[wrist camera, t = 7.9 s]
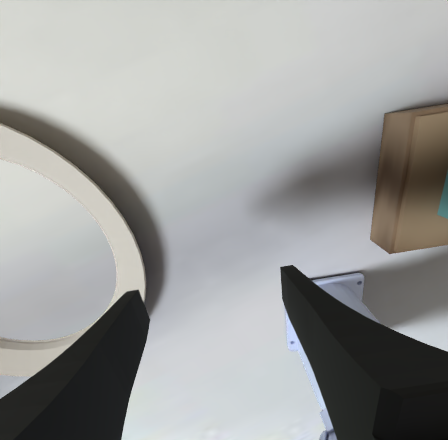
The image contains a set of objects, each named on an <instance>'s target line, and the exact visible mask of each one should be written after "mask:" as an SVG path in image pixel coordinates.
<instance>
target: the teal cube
mask: <svg viewBox="0 0 448 440" xmlns="http://www.w3.org/2000/svg"><path fill="white" fill-rule="evenodd" d="M437 215H439V216H442V217H444V218H447V219H448V171H447V175H446V179H445V184H444V188H443V192H442V196H441V200H440V205H439V209H438V213H437Z"/></svg>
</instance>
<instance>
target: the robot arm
mask: <svg viewBox="0 0 448 440" xmlns="http://www.w3.org/2000/svg"><path fill="white" fill-rule="evenodd" d="M280 268H281V284H282V299H283V302H284V305H285V309H286V326H287V344H288V349H289V351H298V352H299V355H300V357H301V360H302V362H303V365H304V368H305V370H306V373H307V375H308V378H309V381H310V383H311V386H312V388H313V391H314V393H315V396H316V399H317V401H318V403H319V405H320V407H321V409H322V411H321V412H320V415H321V418H322V420H323V423H324V426H325V428H326V430H325V431H323V433H322V434H321V435H320V439H319V440H448V352H447V351H444V350H441V349H438V348H436V347H433V346H430V345H427V344H425V343H422V342H420V341H417V340H415V339H413V338H410V337H408V336H405V335H403V334H401V333H399V332H396V331H394V330H392V329H390V328H388V327H386V326H384V325H382V324H381V323H380V322H379V321H378V320H377V319H376V317H375V316H374V315H373V314H372V313H371V311H370V310H369V309H368V308H367V307H366V306H365V304H364V303H363V302H362V297H363V288H364V279H365V277H364V275H363V274H362V273H354V274H348V275H342V276H335V277H329V278H323V279H316V280H310V279H309V278H308V277H306V276H305V275H304V274H303V273H302V272H300V271H299V270H298V269H297V268H296V267H294V266H293V265H290V266H284V267H280ZM358 281H359V282H358ZM357 282H358V283H357ZM149 322H150V319H149V316H148V313H147V311H146V308H145V305H144V302H143V300H142V297H141V294H140V292H139V290H132V291H127V292H126V293H124V294H123V295H122V296H121V297H120V298H119V299H118V300H117V301H116V302H115V303H114V304H113V305H112V306H111V307H110V308H109V309H108V311H107V312H106V313H105V314H104V315H103V316H102V317H101V318H100V319H99V320H98V321H97V322H96V323H95V324H94V325H92V326H91V327H90V328H89V329H88V330H87V331H86V332H85V333H84V334H83V335H82V336H81V337H80V338H79V339H78V340H76V341H75V342H74V343H73V344H72V345H71V346H70V347H69V348H67V349H66V350H65V351H64V352H63V353H62V354H60V355H59V356H58V357H57V358H55V359H54V360H53V361H52V362H51V363H49V364H48V365H47V366H45V367H44V368H43V369H41V370H40V371H39V372H37V373H36V374H35V375H33V376H32V377H31V378H29V379H28V380H27V381H25V382H24V383H23V384H21V385H20V386H18V387H17V388H16V389H14V390H13V391H11V392H10V393H8V394H7V395H5V396H4V397H2V398H1V399H0V440H121V437H122V432H123V426H124V421H125V417H126V412H127V407H128V402H129V398H130V394H131V390H132V387H133V384H134V380H135V377H136V374H137V370H138V367H139V364H140V361H141V357H142V354H143V351H144V347H145V344H146V340H147V335H148V329H149Z"/></svg>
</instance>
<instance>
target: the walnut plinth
mask: <svg viewBox="0 0 448 440" xmlns="http://www.w3.org/2000/svg"><path fill="white" fill-rule="evenodd" d="M447 171H448V103H447V104H441V105H435V106H429V107H423V108H416V109H410V110H404V111H398V112H392V113H386V114H385V115H384V124H383V132H382V141H381V150H380V158H379V167H378V176H377V184H376V193H375V202H374V210H373V219H372V228H371V236H370V240H371V241H373V242H374V243H375V244H377V245H378V246H380V247H381V248H382V249H384V250H385V251H386V252H388V253H389V254H392V253H399V252H406V251H412V250H418V249H425V248H431V247H437V246H443V245H448V219H447V218H444V217H442V216H439V215H437V213H438V209H439V205H440V200H441V196H442V192H443V188H444V184H445V179H446V175H447Z"/></svg>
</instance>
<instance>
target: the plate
mask: <svg viewBox="0 0 448 440" xmlns="http://www.w3.org/2000/svg"><path fill="white" fill-rule="evenodd" d="M0 159H2V160H5V161H8V162H11V163H14V164H17V165H20V166H22V167H24V168H27V169H29V170H31V171H34V172H36V173H38V174H39V175H41V176H43V177H45V178H47V179H49V180H50V181H52V182H53V183H55V184H56V185H58V186H59V187H61V188H62V189H64V190H65V191H66V192H68V193H69V194H70V195H71V196H72V197H74V198H75V199H76V200H77V201H78V202H79V203H80V204H81V205H82V206H83V207H84V208H85V209H86V210H87V211H88V212H89V213H90V214H91V215H92V217H93V218H94V219H95V221H96V222H97V223H98V224H99V226H100V227H101V229H102V231H103V232H104V234H105V236H106V237H107V240H108V242H109V244H110V246H111V248H112V252H113V255H114V258H115V263H116V270H117V282H116V288H115V292H114V295H113V298H112V300H111V302H110V304H109V306H108V308H107V309H106V310H105V312H104V313H103V314H102V315H101V316H100V317H99V318H98V319H97V320H96V321H95V322H94V323H92V324H91V325H90V326H88V327H87V328H85V329H83V330H81V331H79V332H77V333H74V334H71V335H69V336H65V337H61V338H57V339H50V340H39V341H26V340H14V339H7V338H2V337H0V375H6V376H33V375H35V374H36V373H37V372H39V371H40V370H41V369H43V368H44V367H45V366H47V365H48V364H49V363H51V362H52V361H53V360H54V359H55V358H57V357H58V356H59V355H60V354H62V353H63V352H64V351H65V350H66V349H67V348H69V347H70V346H71V345H72V344H73V343H74V342H75V341H76V340H78V339H79V338H80V337H81V336H82V335H83V334H84V333H85V332H86V331H87V330H88V329H89V328H90V327H91V326H92V325H94V324H95V323H96V322H97V321H98V320H99V319H100V318H101V317H102V316H103V315H104V314H105V313H106V312H107V311H108V309H109V308H110V307H111V306H112V305H113V304H114V303H115V302H116V301H117V300H118V299H119V298H120V297H121V296H122V295H123V294H124V293H126V292H127V291H132V290H139V292H140V294H141V297H142V300H143V302H144V301H145V296H146V276H145V267H144V263H143V259H142V255H141V252H140V249H139V247H138V244H137V242H136V239H135V237H134V235H133V233H132V231H131V229H130V227H129V226H128V224H127V222H126V220H125V219H124V217H123V216H122V214H121V213H120V212H119V210H118V209H117V207H116V206H115V205H114V203H113V202H112V201H111V200H110V198H109V197H108V196H107V195H106V194H105V193H104V192H103V191H102V190H101V189H100V187H99V186H98V185H97V184H96V183H95V182H94V181H92V180H91V179H90V178H89V177H88V176H87V175H86V174H85V173H84V172H82V171H81V170H80V169H79V168H78V167H77V166H75V165H74V164H73V163H71V162H70V161H68V160H67V159H66V158H64V157H63V156H62V155H60V154H59V153H57V152H56V151H54V150H53V149H51V148H49V147H48V146H46V145H44V144H43V143H41V142H39V141H37V140H36V139H34V138H32V137H30V136H28V135H26V134H24V133H22V132H20V131H17V130H15V129H13V128H11V127H9V126H7V125H4V124H1V123H0Z"/></svg>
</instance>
